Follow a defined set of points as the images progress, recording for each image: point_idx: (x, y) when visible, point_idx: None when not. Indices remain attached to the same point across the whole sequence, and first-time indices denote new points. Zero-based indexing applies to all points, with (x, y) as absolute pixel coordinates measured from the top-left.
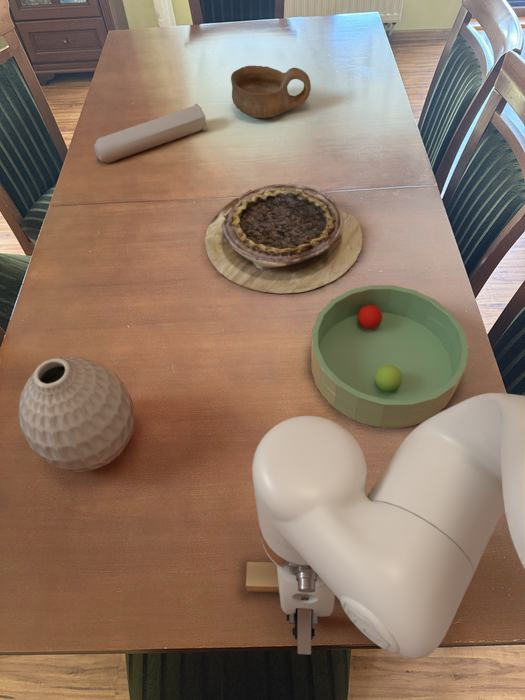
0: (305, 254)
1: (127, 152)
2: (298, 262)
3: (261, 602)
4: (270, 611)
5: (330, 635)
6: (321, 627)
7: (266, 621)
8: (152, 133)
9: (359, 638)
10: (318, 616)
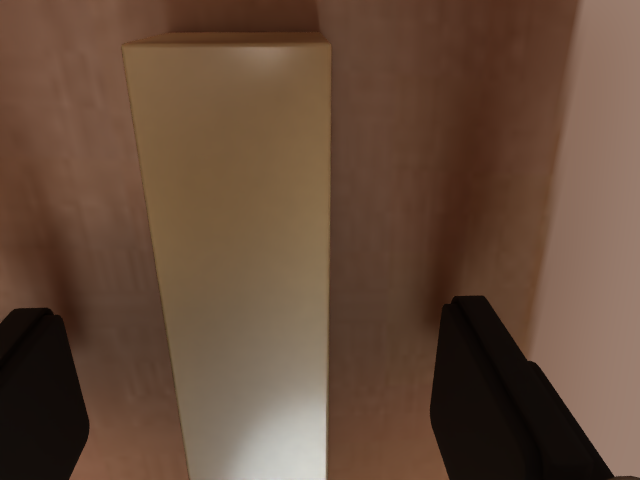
0: None
1: None
2: None
3: (361, 475)
4: (397, 444)
5: (525, 201)
6: (483, 244)
7: (435, 454)
8: None
9: (567, 36)
10: (550, 399)
